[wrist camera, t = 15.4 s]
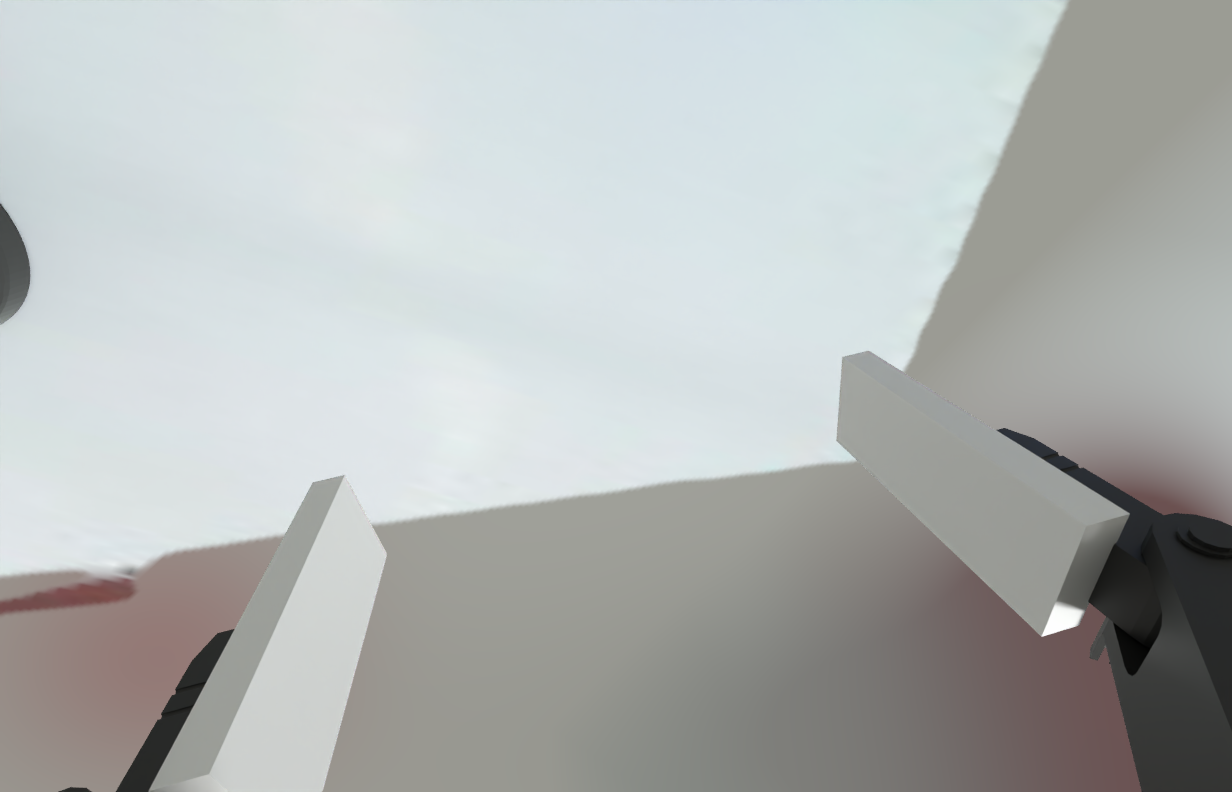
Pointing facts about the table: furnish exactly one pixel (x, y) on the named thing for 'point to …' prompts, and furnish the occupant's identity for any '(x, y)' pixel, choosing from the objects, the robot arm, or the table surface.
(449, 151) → the table surface
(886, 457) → the robot arm
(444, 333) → the table surface
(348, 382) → the table surface
